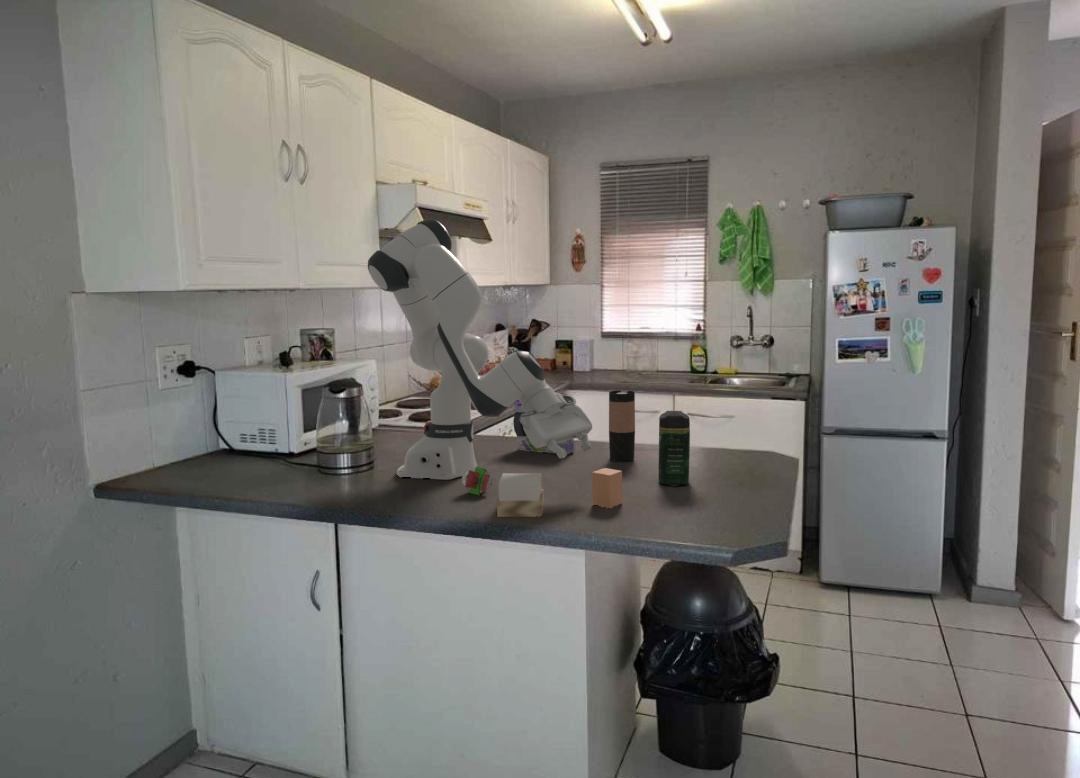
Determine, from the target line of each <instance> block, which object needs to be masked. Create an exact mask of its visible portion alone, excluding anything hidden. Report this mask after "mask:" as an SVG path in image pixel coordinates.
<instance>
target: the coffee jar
mask: <svg viewBox="0 0 1080 778" xmlns="http://www.w3.org/2000/svg"><path fill="white" fill-rule="evenodd" d="M690 422H691V421H690V417H689V415H688V414H686V413H684V412H683V411H682V410H666V411H665V412H663V413H661V414H660V416H659V417H658V482H659V483H660V484H661V485H669V486H671V487H678V486H682V485H688V484H689V480H690V456H691V455H690V454H691V453H690V452H691V451H690V450H691V449H690V448H691V431H690V430H691V427H690V426H691V424H690Z"/></svg>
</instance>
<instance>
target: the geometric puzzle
mask: <svg viewBox="0 0 1080 778" xmlns="http://www.w3.org/2000/svg"><path fill="white" fill-rule="evenodd" d="M473 469H474V468H473ZM468 472H469V474H468ZM467 474H468V475H467ZM490 475H491V474H489V472H488V471H487V468H483V467H479V466H477V467H476V468H475V471H471V470H469V471H467V472H464V474H463V476H461V484H463V486H464V487H465V489H467V490H468V493H469V492H470V494H473V495H475V496H478V497H480V496H481V495H483V493H485V492H486V491H487V490H488V489H489V487H488V485H490V486H493V484H492V483H493V482H490V483H489V480H491V477H490ZM480 491H482V492H480Z"/></svg>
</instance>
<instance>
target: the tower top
mask: <svg viewBox="0 0 1080 778" xmlns="http://www.w3.org/2000/svg"><path fill="white" fill-rule="evenodd" d="M541 489H542V473H540V472H539V473H536V472H533V473H532V472H531V473H530V472H529V473H527V472H526V473H525V472H524V473H523V472H521V473H518V472H517V473H516V472H515V473H513V472H512V473H506V472H505V473H504V472H503V473H502V475H501V477H500V479H499V482H498V497H499V501H539V498H540V494H541Z"/></svg>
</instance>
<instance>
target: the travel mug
mask: <svg viewBox="0 0 1080 778" xmlns="http://www.w3.org/2000/svg"><path fill="white" fill-rule="evenodd" d="M608 393H609V394H608V442H609V443H608V445H609V446H608V448H609V459H611V461H612V460H615V461H614V462H617V461H628V462H630V461H629V460H632V461H634V460H633V459H635V448H636V447H635V446H636V445H635V443H636V442H635V440H636V438H635V437H636V408H635V407H636V404H635V403H636V401H635V400H636V399H635V398H636V394H635V391H633V390H628V391H626V392H624V391H622V390H610V391H609V392H608Z"/></svg>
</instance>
